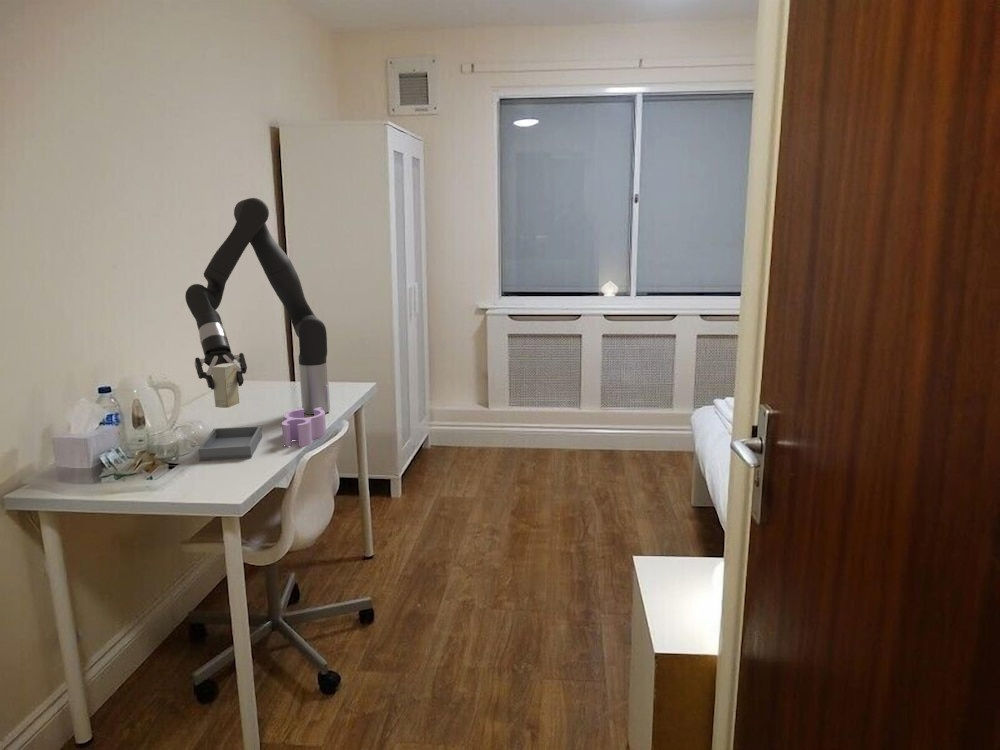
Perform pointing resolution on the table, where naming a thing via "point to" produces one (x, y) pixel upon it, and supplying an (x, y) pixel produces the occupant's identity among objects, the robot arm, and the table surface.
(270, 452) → the table surface
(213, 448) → the tray
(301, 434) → the clip
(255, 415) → the table surface
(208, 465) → the table surface
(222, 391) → the skincare box
